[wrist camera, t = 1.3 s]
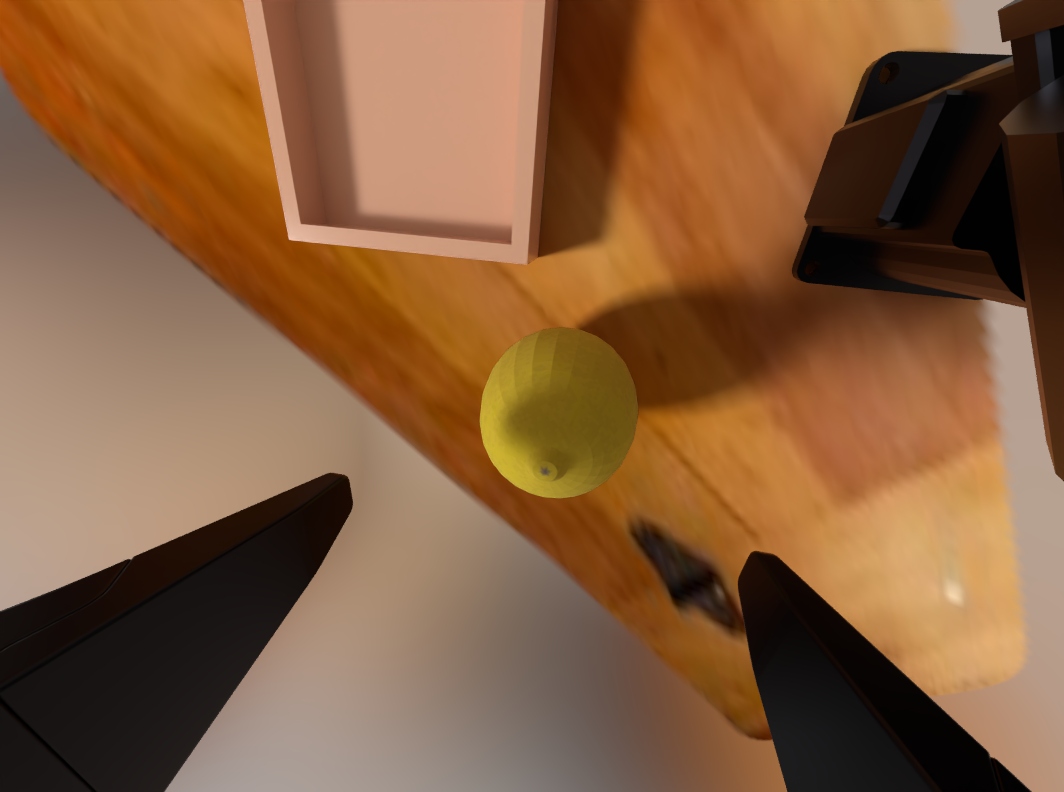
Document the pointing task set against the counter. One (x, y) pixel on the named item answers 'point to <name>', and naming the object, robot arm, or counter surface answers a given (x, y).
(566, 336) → the lemon
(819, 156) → the counter surface
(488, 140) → the dish
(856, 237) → the robot arm
